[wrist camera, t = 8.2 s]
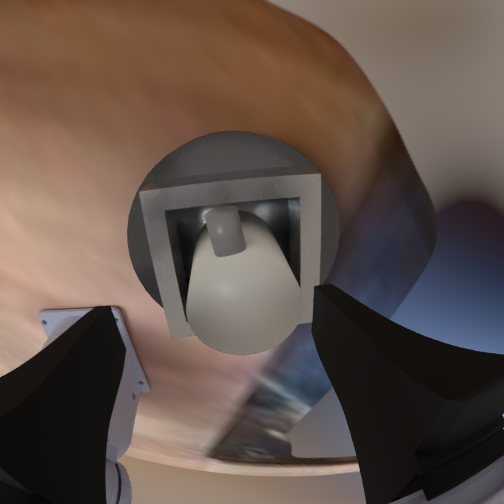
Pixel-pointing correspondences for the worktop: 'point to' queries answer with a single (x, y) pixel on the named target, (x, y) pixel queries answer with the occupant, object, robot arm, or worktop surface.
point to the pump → (241, 285)
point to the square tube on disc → (230, 194)
